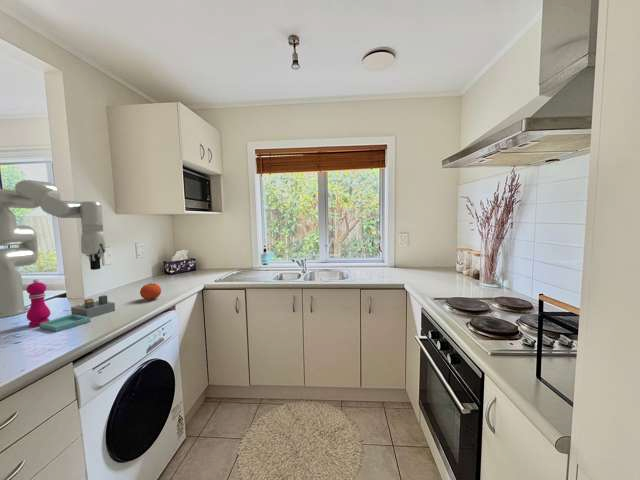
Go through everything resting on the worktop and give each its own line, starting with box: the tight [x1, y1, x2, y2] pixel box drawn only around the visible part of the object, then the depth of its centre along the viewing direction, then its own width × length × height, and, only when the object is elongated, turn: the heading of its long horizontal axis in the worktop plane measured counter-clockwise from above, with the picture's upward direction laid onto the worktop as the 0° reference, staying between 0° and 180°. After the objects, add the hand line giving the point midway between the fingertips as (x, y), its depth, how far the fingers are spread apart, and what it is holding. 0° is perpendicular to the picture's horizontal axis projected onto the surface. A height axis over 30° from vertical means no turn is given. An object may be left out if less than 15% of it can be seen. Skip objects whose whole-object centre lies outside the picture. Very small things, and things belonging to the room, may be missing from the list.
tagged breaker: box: [83, 298, 95, 308], centre depth 131 cm, size 3×2×4 cm
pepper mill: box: [26, 278, 51, 328], centre depth 119 cm, size 7×7×20 cm
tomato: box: [139, 281, 162, 301], centre depth 157 cm, size 10×10×10 cm
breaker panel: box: [70, 299, 116, 319], centre depth 135 cm, size 12×12×4 cm
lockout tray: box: [39, 314, 91, 333], centre depth 119 cm, size 12×12×2 cm
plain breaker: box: [98, 294, 109, 304], centre depth 136 cm, size 2×2×4 cm
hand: (95, 269), depth 127 cm, fingers closed
